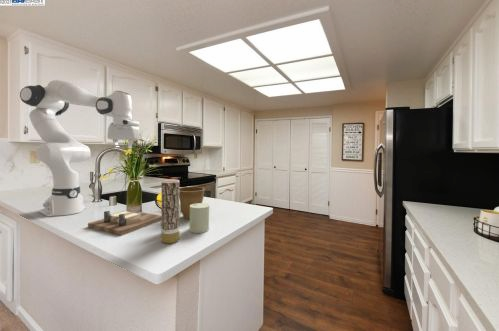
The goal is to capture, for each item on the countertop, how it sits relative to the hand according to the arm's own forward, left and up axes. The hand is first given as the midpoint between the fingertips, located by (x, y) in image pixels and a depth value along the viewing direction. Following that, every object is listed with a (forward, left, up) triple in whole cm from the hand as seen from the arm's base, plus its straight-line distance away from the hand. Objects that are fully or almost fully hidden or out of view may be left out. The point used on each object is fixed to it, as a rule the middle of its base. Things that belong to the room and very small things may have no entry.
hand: (123, 148), depth 119 cm
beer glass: (+40, -7, -37) cm, 55 cm away
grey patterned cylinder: (+46, -15, -37) cm, 61 cm away
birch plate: (+13, -10, -35) cm, 39 cm away
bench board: (+13, -8, -37) cm, 40 cm away
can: (+49, +1, -37) cm, 61 cm away
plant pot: (+34, +14, -37) cm, 52 cm away
